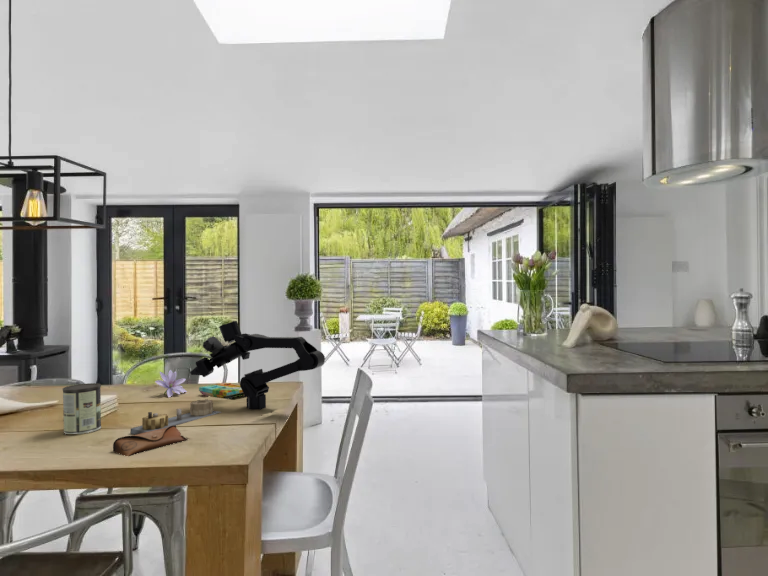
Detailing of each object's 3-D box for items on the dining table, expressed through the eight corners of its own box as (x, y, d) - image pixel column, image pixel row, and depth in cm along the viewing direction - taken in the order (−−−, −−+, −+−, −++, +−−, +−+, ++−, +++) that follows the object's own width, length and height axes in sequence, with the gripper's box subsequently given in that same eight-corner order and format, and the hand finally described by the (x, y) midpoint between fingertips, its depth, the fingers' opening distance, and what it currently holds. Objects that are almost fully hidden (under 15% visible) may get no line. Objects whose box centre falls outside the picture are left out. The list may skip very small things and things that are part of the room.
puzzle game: (223, 380, 207) (251, 385, 195) (223, 391, 207) (251, 396, 194) (198, 385, 197) (226, 390, 185) (199, 396, 197) (226, 402, 185)
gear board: (222, 416, 162) (221, 398, 163) (150, 437, 139) (150, 416, 139) (202, 413, 167) (202, 395, 167) (130, 433, 144) (130, 413, 144)
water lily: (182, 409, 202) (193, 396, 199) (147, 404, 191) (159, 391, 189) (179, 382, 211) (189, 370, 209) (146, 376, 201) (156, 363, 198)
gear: (216, 412, 162) (216, 400, 162) (200, 417, 156) (200, 405, 156) (203, 410, 166) (203, 398, 166) (186, 414, 160) (186, 403, 160)
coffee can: (82, 425, 154) (82, 382, 154) (108, 426, 152) (108, 383, 152) (54, 434, 144) (54, 389, 144) (81, 436, 142) (81, 390, 142)
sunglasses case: (125, 457, 122) (120, 433, 124) (116, 466, 126) (110, 442, 128) (190, 439, 136) (184, 418, 139) (180, 448, 140) (174, 427, 142)
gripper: (232, 327, 179) (201, 343, 183) (206, 340, 161) (172, 358, 165) (246, 352, 180) (214, 367, 184) (221, 368, 162) (187, 385, 166)
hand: (197, 369), depth 175 cm, fingers open, 9 cm apart
